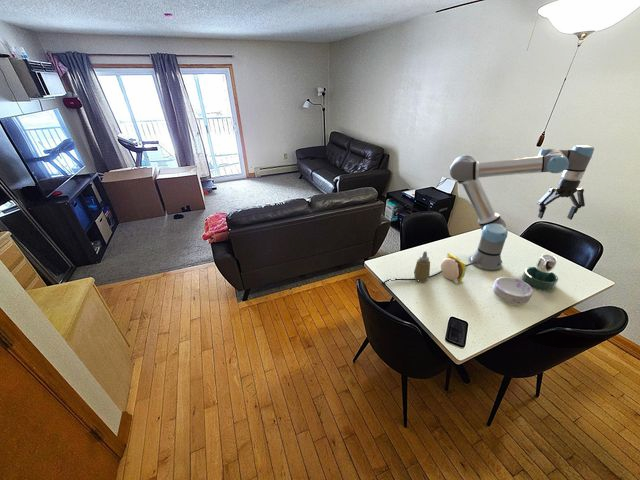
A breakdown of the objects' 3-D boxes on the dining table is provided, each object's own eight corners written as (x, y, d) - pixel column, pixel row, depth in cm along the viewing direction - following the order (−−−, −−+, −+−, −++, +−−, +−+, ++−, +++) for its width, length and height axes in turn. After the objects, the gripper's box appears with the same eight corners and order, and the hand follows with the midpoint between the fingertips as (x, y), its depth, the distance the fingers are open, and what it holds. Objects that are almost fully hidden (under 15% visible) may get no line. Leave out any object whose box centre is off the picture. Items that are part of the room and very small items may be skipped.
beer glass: (549, 286, 134) (560, 262, 126) (533, 285, 135) (544, 261, 128) (542, 278, 140) (552, 254, 132) (527, 277, 141) (537, 253, 134)
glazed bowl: (528, 289, 133) (532, 281, 131) (517, 274, 145) (520, 265, 142) (559, 292, 131) (564, 283, 128) (545, 276, 142) (549, 267, 139)
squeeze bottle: (410, 279, 145) (414, 252, 136) (416, 273, 150) (421, 246, 141) (424, 285, 140) (429, 257, 131) (430, 278, 145) (436, 250, 136)
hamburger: (436, 273, 149) (439, 255, 143) (448, 269, 151) (452, 252, 146) (452, 285, 139) (456, 266, 133) (464, 281, 141) (469, 263, 136)
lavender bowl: (483, 292, 133) (487, 279, 130) (507, 285, 137) (512, 273, 133) (510, 312, 121) (515, 299, 117) (535, 305, 124) (542, 292, 120)
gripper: (546, 180, 128) (531, 220, 139) (606, 181, 123) (586, 221, 134) (538, 176, 135) (524, 214, 145) (595, 176, 130) (577, 216, 140)
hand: (554, 218), depth 139 cm, fingers open, 13 cm apart
